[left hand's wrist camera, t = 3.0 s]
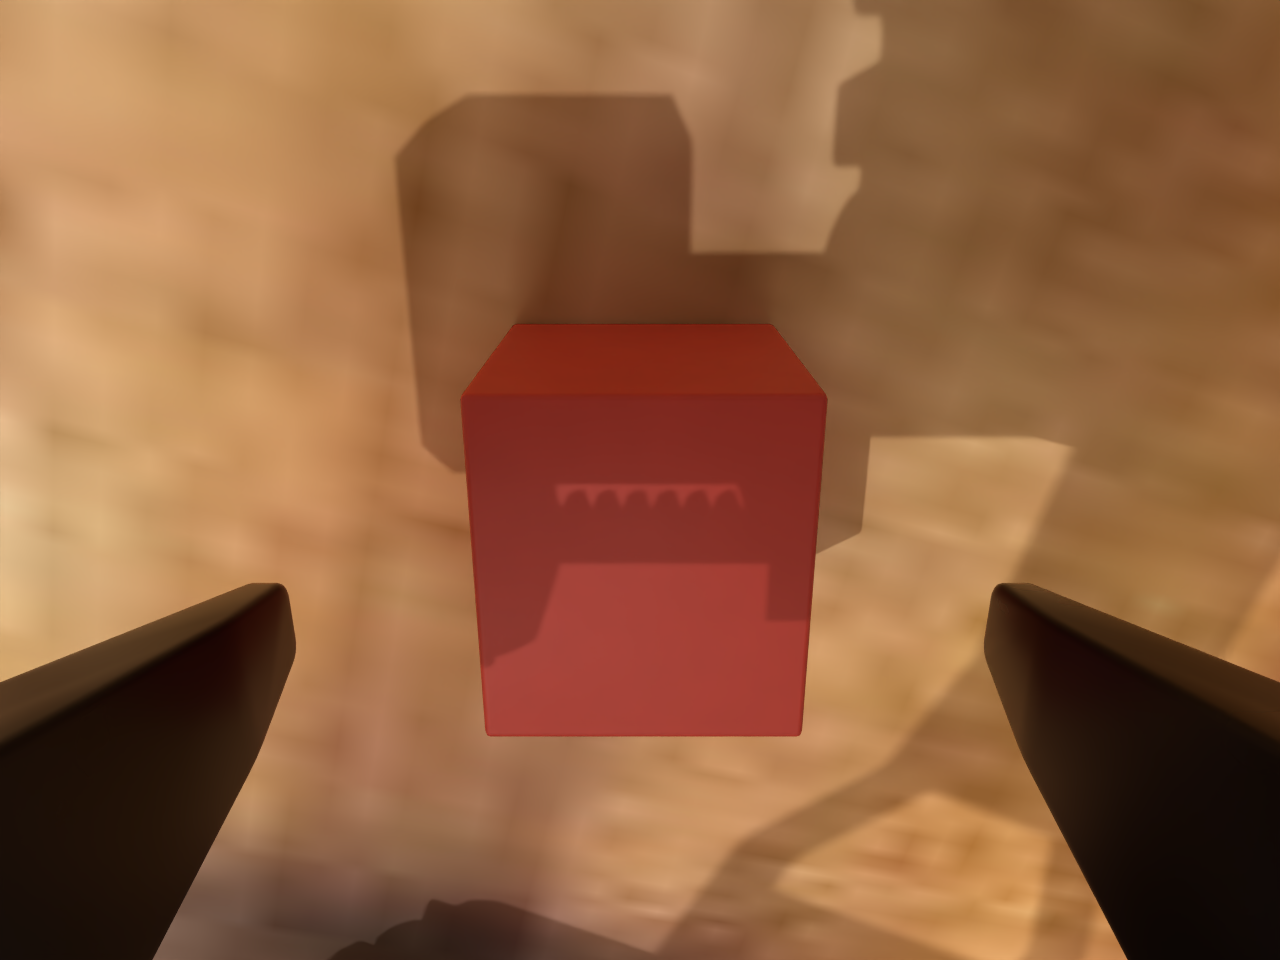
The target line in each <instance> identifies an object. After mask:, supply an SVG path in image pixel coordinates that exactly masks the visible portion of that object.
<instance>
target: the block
mask: <svg viewBox="0 0 1280 960" xmlns="http://www.w3.org/2000/svg"><path fill="white" fill-rule="evenodd" d="M460 401H461V414H462V427H463V441H464V454H465V467H466V480H467V493H468V507H469V520H470V533H471V546H472V560H473V573H474V586H475V599H476V613H477V626H478V639H479V652H480V665H481V679H482V692H483V705H484V718H485V731H486V733H487V735H488V736H799V735H800V734H801V731H802V723H803V710H804V697H805V684H806V671H807V658H808V645H809V632H810V619H811V606H812V593H813V580H814V567H815V555H816V542H817V529H818V516H819V503H820V490H821V477H822V464H823V451H824V438H825V425H826V412H827V396H826V394H825V393H824V391H823V390H822V389H821V388H820V386H819V385H818V384H817V382H816V381H815V380H814V378H813V377H812V376H811V374H810V373H809V372H808V370H807V369H806V368H805V367H804V365H803V364H802V363H801V361H800V360H799V359H798V357H797V356H796V355H795V353H794V352H793V351H792V350H791V348H790V347H789V346H788V344H787V343H786V342H785V340H784V339H783V338H782V336H781V335H780V334H779V333H778V331H777V330H776V329H775V327H774V326H773V325H771V324H516V325H513V326H512V328H511V329H510V330H509V332H508V333H507V334H506V336H505V337H504V339H503V340H502V341H501V343H500V344H499V345H498V347H497V348H496V349H495V351H494V352H493V353H492V355H491V356H490V358H489V359H488V360H487V362H486V363H485V364H484V366H483V367H482V368H481V370H480V371H479V372H478V374H477V375H476V376H475V378H474V379H473V381H472V382H471V383H470V385H469V386H468V387H467V389H466V390H465V391H464V393H463V394H462V396H461V399H460Z"/></svg>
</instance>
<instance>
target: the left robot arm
mask: <svg viewBox="0 0 1280 960" xmlns="http://www.w3.org/2000/svg"><path fill="white" fill-rule="evenodd" d="M295 653H296V639H295V632H294V626H293V620H292V613H291V607H290V601H289V595H288V592H287V590H286V588H285V587H284V586H283V585H282V584H279V583H251V584H247V585H245V586H242V587H240V588H237V589H235V590H232V591H229V592H227V593H224V594H222V595H219V596H217V597H214V598H212V599H209V600H207V601H204V602H202V603H199V604H197V605H194V606H192V607H189V608H187V609H184V610H182V611H179V612H177V613H174V614H172V615H169V616H166V617H164V618H161V619H159V620H156V621H154V622H151V623H149V624H146V625H144V626H141V627H139V628H136V629H134V630H131V631H129V632H126V633H124V634H121V635H119V636H116V637H114V638H111V639H109V640H106V641H103V642H101V643H98V644H96V645H93V646H91V647H88V648H86V649H83V650H81V651H78V652H76V653H73V654H71V655H68V656H66V657H63V658H61V659H58V660H56V661H53V662H51V663H48V664H46V665H43V666H40V667H38V668H35V669H33V670H30V671H28V672H25V673H23V674H20V675H18V676H15V677H13V678H10V679H8V680H5V681H3V682H0V960H152V959H153V957H154V956H155V954H156V952H157V950H158V948H159V946H160V944H161V942H162V940H163V938H164V936H165V934H166V932H167V930H168V929H169V927H170V925H171V923H172V921H173V919H174V917H175V915H176V913H177V911H178V909H179V907H180V905H181V904H182V902H183V900H184V898H185V896H186V894H187V892H188V890H189V888H190V886H191V884H192V882H193V880H194V878H195V877H196V875H197V873H198V871H199V869H200V867H201V865H202V863H203V861H204V859H205V857H206V855H207V853H208V852H209V850H210V848H211V846H212V844H213V842H214V840H215V838H216V836H217V834H218V832H219V830H220V828H221V826H222V825H223V823H224V821H225V819H226V817H227V815H228V813H229V811H230V809H231V807H232V805H233V803H234V801H235V800H236V798H237V796H238V794H239V792H240V790H241V788H242V786H243V784H244V782H245V780H246V778H247V776H248V774H249V772H250V770H251V768H252V766H253V764H254V762H255V760H256V758H257V756H258V753H259V751H260V749H261V746H262V744H263V741H264V739H265V736H266V733H267V731H268V728H269V725H270V723H271V720H272V717H273V715H274V712H275V709H276V707H277V704H278V701H279V699H280V696H281V693H282V691H283V688H284V685H285V683H286V680H287V677H288V675H289V672H290V669H291V667H292V664H293V661H294V658H295ZM984 653H985V658H986V661H987V664H988V667H989V669H990V672H991V675H992V677H993V680H994V683H995V685H996V688H997V691H998V693H999V696H1000V699H1001V701H1002V704H1003V707H1004V709H1005V712H1006V715H1007V717H1008V720H1009V723H1010V725H1011V728H1012V731H1013V733H1014V736H1015V739H1016V741H1017V744H1018V746H1019V749H1020V751H1021V753H1022V756H1023V758H1024V760H1025V762H1026V764H1027V766H1028V768H1029V770H1030V772H1031V774H1032V776H1033V778H1034V780H1035V782H1036V784H1037V786H1038V788H1039V790H1040V792H1041V794H1042V796H1043V798H1044V800H1045V801H1046V803H1047V805H1048V807H1049V809H1050V811H1051V813H1052V815H1053V817H1054V819H1055V821H1056V823H1057V825H1058V826H1059V828H1060V830H1061V832H1062V834H1063V836H1064V838H1065V840H1066V842H1067V844H1068V846H1069V848H1070V850H1071V852H1072V853H1073V855H1074V857H1075V859H1076V861H1077V863H1078V865H1079V867H1080V869H1081V871H1082V873H1083V875H1084V877H1085V878H1086V880H1087V882H1088V884H1089V886H1090V888H1091V890H1092V892H1093V894H1094V896H1095V898H1096V900H1097V902H1098V904H1099V905H1100V907H1101V909H1102V911H1103V913H1104V915H1105V917H1106V919H1107V921H1108V923H1109V925H1110V927H1111V929H1112V930H1113V932H1114V934H1115V936H1116V938H1117V940H1118V942H1119V944H1120V946H1121V948H1122V950H1123V952H1124V954H1125V956H1126V957H1127V959H1128V960H1280V682H1277V681H1275V680H1272V679H1270V678H1267V677H1265V676H1262V675H1260V674H1257V673H1255V672H1252V671H1250V670H1247V669H1245V668H1242V667H1240V666H1237V665H1234V664H1232V663H1229V662H1227V661H1224V660H1222V659H1219V658H1217V657H1214V656H1212V655H1209V654H1207V653H1204V652H1202V651H1199V650H1197V649H1194V648H1192V647H1189V646H1187V645H1184V644H1182V643H1179V642H1177V641H1174V640H1171V639H1169V638H1166V637H1164V636H1161V635H1159V634H1156V633H1154V632H1151V631H1149V630H1146V629H1144V628H1141V627H1139V626H1136V625H1134V624H1131V623H1129V622H1126V621H1124V620H1121V619H1119V618H1116V617H1114V616H1111V615H1108V614H1106V613H1103V612H1101V611H1098V610H1096V609H1093V608H1091V607H1088V606H1086V605H1083V604H1081V603H1078V602H1076V601H1073V600H1071V599H1068V598H1066V597H1063V596H1061V595H1058V594H1056V593H1053V592H1051V591H1048V590H1045V589H1043V588H1040V587H1038V586H1035V585H1033V584H1029V583H1001V584H998V585H997V586H996V587H995V588H994V590H993V592H992V595H991V601H990V607H989V613H988V620H987V626H986V632H985V639H984Z"/></svg>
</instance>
